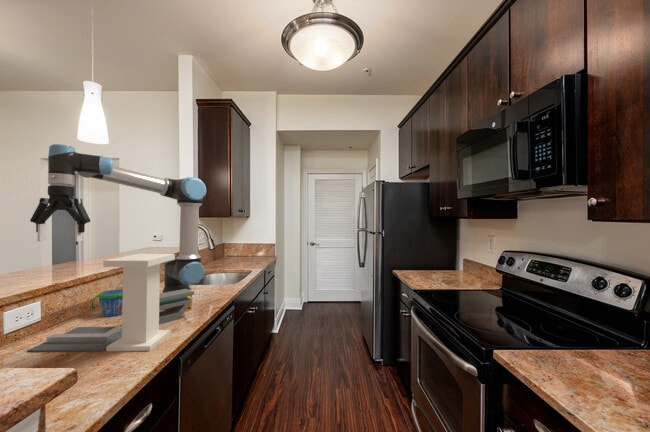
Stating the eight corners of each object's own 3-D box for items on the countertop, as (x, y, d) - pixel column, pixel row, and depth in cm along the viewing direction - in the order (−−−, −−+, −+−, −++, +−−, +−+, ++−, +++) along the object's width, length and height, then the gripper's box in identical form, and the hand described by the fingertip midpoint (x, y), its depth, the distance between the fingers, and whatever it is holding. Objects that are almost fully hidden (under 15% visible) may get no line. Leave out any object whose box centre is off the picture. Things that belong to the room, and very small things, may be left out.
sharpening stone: (129, 332, 109) (130, 303, 110) (122, 327, 114) (123, 300, 114) (193, 315, 129) (193, 291, 129) (185, 312, 134) (185, 288, 134)
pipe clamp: (187, 308, 139) (188, 295, 139) (192, 310, 136) (192, 297, 137) (161, 315, 130) (161, 300, 130) (165, 317, 127) (165, 302, 127)
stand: (101, 354, 92) (103, 260, 92) (136, 332, 110) (137, 253, 110) (146, 353, 92) (147, 260, 93) (173, 331, 110) (174, 254, 111)
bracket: (46, 343, 98) (46, 337, 98) (71, 331, 108) (71, 326, 108) (106, 342, 99) (106, 336, 99) (125, 331, 109) (125, 325, 109)
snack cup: (87, 320, 122) (88, 296, 122) (95, 313, 131) (96, 290, 131) (131, 315, 128) (131, 293, 128) (135, 309, 138) (136, 287, 138)
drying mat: (26, 352, 93) (26, 350, 93) (77, 328, 113) (77, 327, 113) (103, 351, 94) (103, 349, 94) (140, 328, 114) (140, 326, 114)
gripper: (17, 184, 105) (16, 241, 105) (87, 185, 106) (86, 242, 106) (37, 186, 113) (36, 240, 112) (102, 187, 114) (101, 240, 113)
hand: (60, 241), depth 109 cm, fingers open, 13 cm apart
